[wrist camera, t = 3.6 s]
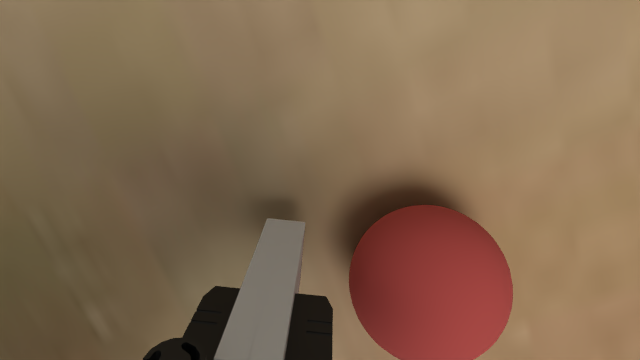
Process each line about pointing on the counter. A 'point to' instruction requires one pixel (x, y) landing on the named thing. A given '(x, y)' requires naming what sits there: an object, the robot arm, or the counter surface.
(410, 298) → the ball
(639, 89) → the counter surface
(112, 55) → the counter surface
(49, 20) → the counter surface
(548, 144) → the counter surface
